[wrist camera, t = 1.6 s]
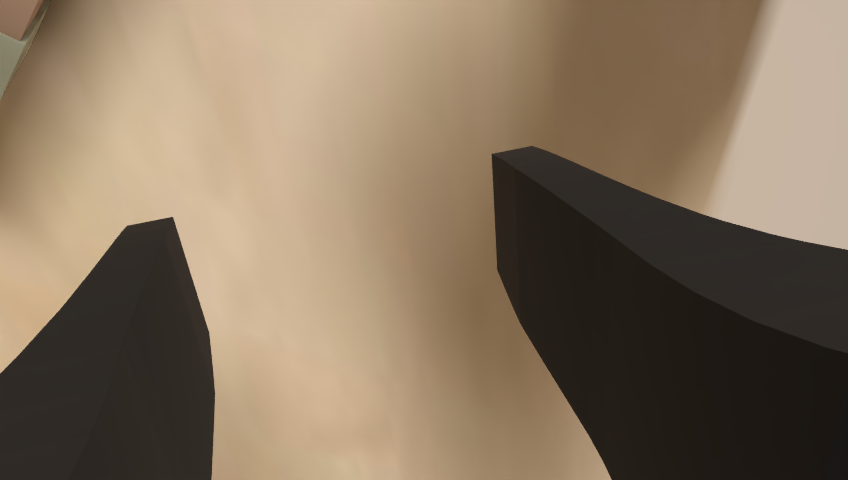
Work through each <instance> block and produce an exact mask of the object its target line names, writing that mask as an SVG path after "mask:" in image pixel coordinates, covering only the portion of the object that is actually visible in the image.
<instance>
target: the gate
mask: <svg viewBox="0 0 848 480" xmlns="http://www.w3.org/2000/svg"><path fill="white" fill-rule="evenodd" d="M50 2H51V0H0V100H1V98H2V96H3V94H4V92H5V91H6V89H7V87H8V85H9V84H10V82H11V80H12V78H13V77H14V75H15V73H16V71H17V69H18V68H19V66H20V64H21V62H22V61H23V59H24V57H25V55H26V54H27V52H28V50H29V48H30V46H31V44H32V42H33V40H34V37H35V35H36V33H37V31H38V29H39V26H40V24H41V22H42V20H43V17H44V15H45V13H46V11H47V9H48V6H49V4H50Z"/></svg>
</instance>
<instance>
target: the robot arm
mask: <svg viewBox="0 0 848 480" xmlns="http://www.w3.org/2000/svg"><path fill="white" fill-rule="evenodd" d="M492 168H493V189H494V209H495V230H496V250H497V270H498V272H499V275H500V277H501V280H502V282H503V285H504V287H505V289H506V292H507V294H508V297H509V299H510V301H511V304H512V306H513V308H514V310H515V313H516V315H517V317H518V319H519V322H520V323H521V325H522V327H523V329H524V330H525V332H526V334H527V335H528V337H529V339H530V340H531V342H532V344H533V345H534V347H535V349H536V350H537V352H538V354H539V355H540V357H541V358H542V360H543V362H544V363H545V365H546V367H547V368H548V370H549V372H550V373H551V375H552V376H553V378H554V380H555V381H556V383H557V384H558V386H559V388H560V389H561V391H562V393H563V394H564V396H565V397H566V399H567V401H568V402H569V404H570V406H571V407H572V409H573V410H574V412H575V414H576V415H577V417H578V418H579V420H580V422H581V423H582V425H583V427H584V428H585V430H586V431H587V433H588V435H589V437H590V438H591V440H592V442H593V444H594V446H595V447H596V449H597V451H598V453H599V455H600V456H601V458H602V460H603V462H604V464H605V466H606V468H607V470H608V473H609V475H610V477H611V479H612V480H848V250H845V249H840V248H835V247H829V246H824V245H819V244H814V243H808V242H803V241H799V240H794V239H790V238H785V237H781V236H777V235H773V234H768V233H765V232H762V231H758V230H754V229H750V228H747V227H743V226H740V225H736V224H732V223H729V222H725V221H722V220H719V219H715V218H712V217H709V216H706V215H703V214H700V213H697V212H694V211H692V210H689V209H686V208H683V207H680V206H678V205H675V204H672V203H669V202H666V201H664V200H661V199H659V198H656V197H653V196H651V195H648V194H646V193H643V192H641V191H638V190H636V189H634V188H631V187H629V186H626V185H624V184H622V183H619V182H617V181H615V180H612V179H610V178H608V177H605V176H603V175H601V174H599V173H596V172H594V171H592V170H590V169H587V168H585V167H583V166H581V165H578V164H576V163H574V162H572V161H569V160H567V159H565V158H562V157H560V156H558V155H555V154H553V153H550V152H548V151H545V150H542V149H540V148H536V147H533V146H530V147H525V148H520V149H515V150H510V151H505V152H500V153H495V154H492ZM214 406H215V389H214V377H213V366H212V356H211V346H210V336H209V331H208V328H207V325H206V322H205V318H204V315H203V312H202V309H201V306H200V302H199V299H198V296H197V293H196V290H195V286H194V283H193V280H192V277H191V273H190V270H189V267H188V264H187V261H186V257H185V254H184V251H183V248H182V245H181V241H180V238H179V235H178V232H177V229H176V225H175V222H174V219H173V217H170V218H165V219H160V220H155V221H150V222H145V223H140V224H134V225H129V226H127V227H126V228H125V229H124V230H123V231H122V232H121V234H120V235H119V236H118V237H117V239H116V240H115V241H114V242H113V244H112V245H111V246H110V248H109V249H108V250H107V251H106V253H105V254H104V255H103V257H102V258H101V259H100V261H99V262H98V263H97V264H96V266H95V267H94V268H93V270H92V271H91V272H90V273H89V275H88V276H87V277H86V278H85V280H84V281H83V282H82V283H81V285H80V286H79V287H78V288H77V289H76V291H75V292H74V293H73V294H72V296H71V297H70V298H69V299H68V301H67V302H66V303H65V304H64V306H63V307H62V308H61V309H60V310H59V311H58V312H57V313H56V315H55V316H54V317H53V318H52V319H51V320H50V321H49V322H48V323H47V324H46V326H45V327H44V328H43V329H42V330H41V331H40V332H39V333H38V334H37V335H36V337H35V338H34V339H33V340H32V341H31V342H30V343H29V344H28V345H27V347H26V348H25V349H24V350H23V351H22V352H21V353H20V354H19V355H18V356H17V357H16V358H15V359H14V360H13V361H12V362H11V363H10V364H9V365H8V366H7V367H6V368H5V369H4V370H3V371H2V372H1V373H0V480H211V476H212V455H213V432H214Z"/></svg>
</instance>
